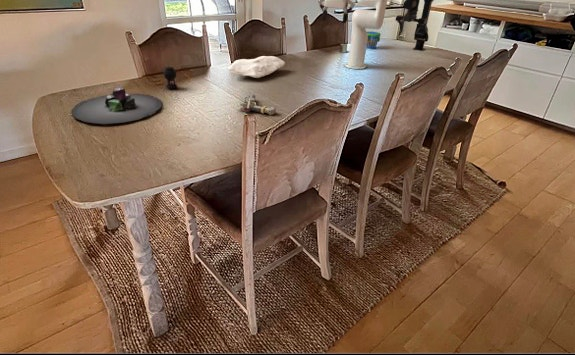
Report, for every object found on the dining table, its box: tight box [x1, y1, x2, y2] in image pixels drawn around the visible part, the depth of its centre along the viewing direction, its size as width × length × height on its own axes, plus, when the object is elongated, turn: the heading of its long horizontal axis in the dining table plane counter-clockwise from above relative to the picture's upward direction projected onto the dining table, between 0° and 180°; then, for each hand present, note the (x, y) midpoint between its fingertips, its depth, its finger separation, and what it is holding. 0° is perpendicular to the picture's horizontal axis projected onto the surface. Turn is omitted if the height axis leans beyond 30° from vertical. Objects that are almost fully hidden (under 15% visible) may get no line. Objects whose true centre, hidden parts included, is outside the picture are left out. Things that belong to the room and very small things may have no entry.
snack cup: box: [366, 31, 381, 49], centre depth 259 cm, size 16×10×10 cm
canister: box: [339, 43, 348, 54], centre depth 248 cm, size 5×5×5 cm
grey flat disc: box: [70, 86, 163, 125], centre depth 150 cm, size 35×35×9 cm
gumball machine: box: [161, 66, 179, 90], centre depth 173 cm, size 7×6×10 cm
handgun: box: [239, 93, 277, 116], centre depth 158 cm, size 3×18×15 cm
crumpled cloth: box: [227, 55, 286, 79], centre depth 196 cm, size 24×35×9 cm
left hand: (334, 21), depth 169 cm, fingers open, 9 cm apart
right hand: (408, 33), depth 238 cm, fingers open, 9 cm apart
